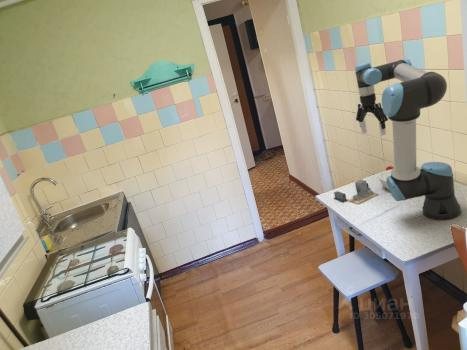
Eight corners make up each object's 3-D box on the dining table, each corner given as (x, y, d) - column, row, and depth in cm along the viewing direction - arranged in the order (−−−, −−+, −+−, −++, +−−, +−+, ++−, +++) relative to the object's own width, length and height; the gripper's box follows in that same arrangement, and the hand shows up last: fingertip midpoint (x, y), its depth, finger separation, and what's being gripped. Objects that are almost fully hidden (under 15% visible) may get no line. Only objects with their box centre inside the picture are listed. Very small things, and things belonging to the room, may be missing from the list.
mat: (378, 194, 199) (378, 193, 198) (358, 204, 194) (358, 203, 194) (367, 191, 206) (367, 190, 206) (347, 201, 201) (347, 200, 201)
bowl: (375, 185, 211) (374, 173, 209) (408, 177, 209) (407, 165, 207) (387, 196, 194) (385, 184, 192) (423, 188, 192) (422, 175, 190)
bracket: (402, 177, 211) (400, 164, 209) (396, 180, 209) (394, 167, 207) (385, 174, 222) (383, 162, 220) (379, 177, 220) (377, 164, 218)
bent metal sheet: (373, 194, 200) (370, 178, 197) (358, 201, 196) (355, 185, 194) (367, 192, 203) (364, 177, 201) (353, 199, 200) (350, 184, 197)
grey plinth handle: (370, 189, 207) (369, 183, 206) (343, 202, 201) (342, 195, 200) (360, 186, 214) (359, 180, 213) (334, 199, 208) (332, 192, 207)
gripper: (391, 91, 181) (397, 133, 187) (355, 93, 204) (362, 130, 210) (380, 95, 179) (386, 138, 185) (345, 96, 201) (351, 134, 207)
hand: (373, 134), depth 197 cm, fingers open, 13 cm apart
